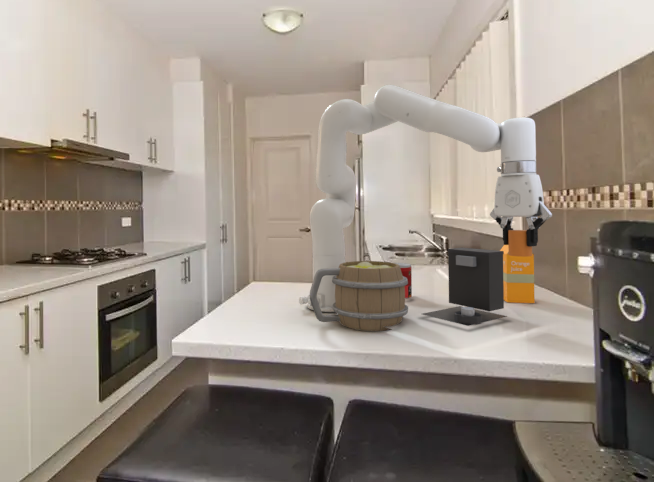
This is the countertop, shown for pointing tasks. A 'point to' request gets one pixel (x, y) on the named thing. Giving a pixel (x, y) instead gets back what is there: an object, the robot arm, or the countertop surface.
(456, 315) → the base
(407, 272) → the canned food
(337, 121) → the robot arm
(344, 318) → the mug
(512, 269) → the orange juice
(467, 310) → the button
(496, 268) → the coffee maker
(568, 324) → the countertop surface
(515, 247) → the container
